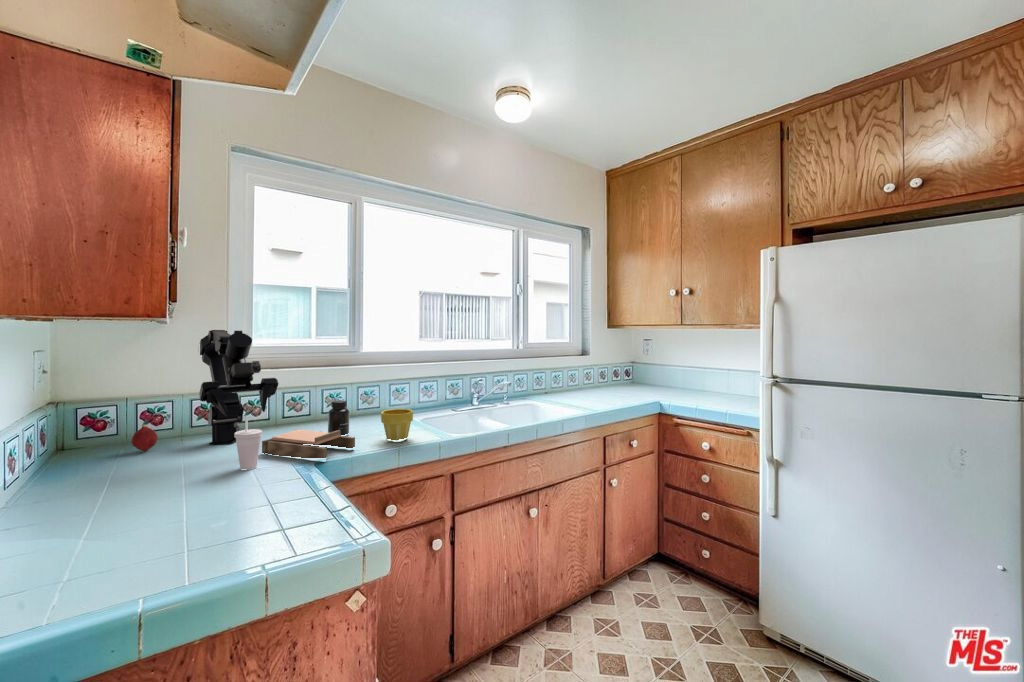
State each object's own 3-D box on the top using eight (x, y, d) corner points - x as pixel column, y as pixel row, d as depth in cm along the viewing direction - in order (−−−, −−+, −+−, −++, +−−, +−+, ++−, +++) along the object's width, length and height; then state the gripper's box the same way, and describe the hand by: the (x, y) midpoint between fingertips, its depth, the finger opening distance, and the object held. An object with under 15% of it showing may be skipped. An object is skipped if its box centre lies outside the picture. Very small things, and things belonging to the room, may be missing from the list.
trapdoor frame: (262, 454, 125) (262, 441, 125) (297, 443, 138) (297, 430, 137) (323, 462, 118) (323, 448, 118) (354, 450, 131) (354, 437, 131)
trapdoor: (272, 449, 126) (272, 432, 126) (298, 441, 135) (298, 425, 135) (316, 455, 121) (316, 437, 121) (340, 446, 130) (340, 430, 130)
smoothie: (228, 469, 112) (228, 416, 111) (253, 462, 117) (253, 412, 117) (243, 473, 109) (243, 418, 108) (267, 466, 114) (267, 414, 114)
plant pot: (378, 437, 146) (379, 409, 146) (409, 435, 150) (409, 407, 150) (383, 445, 137) (383, 415, 136) (415, 442, 141) (415, 413, 141)
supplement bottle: (344, 438, 144) (344, 403, 144) (324, 438, 145) (324, 402, 144) (352, 433, 151) (352, 399, 151) (333, 433, 151) (333, 399, 151)
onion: (162, 449, 129) (162, 422, 128) (144, 454, 123) (144, 427, 123) (145, 448, 129) (145, 422, 129) (126, 453, 123) (126, 426, 123)
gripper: (201, 352, 116) (209, 399, 108) (276, 351, 129) (288, 392, 121) (196, 378, 122) (203, 423, 114) (268, 374, 135) (279, 414, 127)
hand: (245, 412), depth 119 cm, fingers open, 9 cm apart
